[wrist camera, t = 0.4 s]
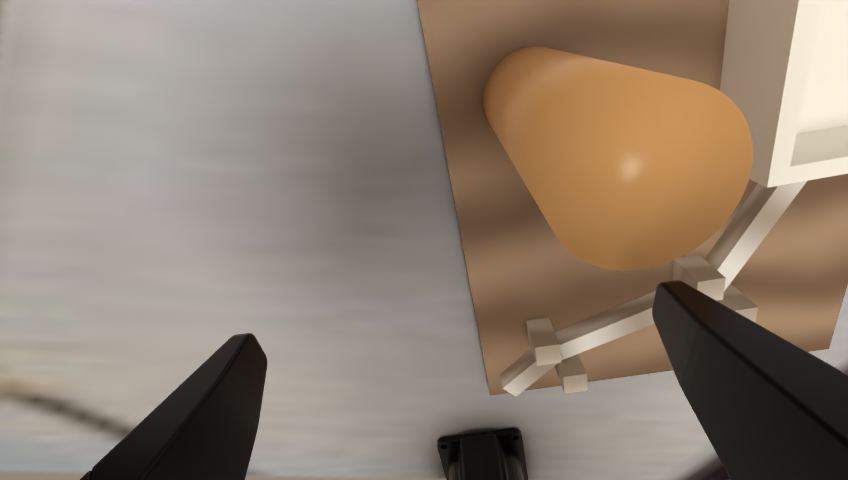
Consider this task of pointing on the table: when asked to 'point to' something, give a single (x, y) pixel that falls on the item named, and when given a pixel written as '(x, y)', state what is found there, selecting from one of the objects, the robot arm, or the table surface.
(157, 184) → the table surface
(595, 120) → the tan cylinder
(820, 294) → the cable board
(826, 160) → the end holder
